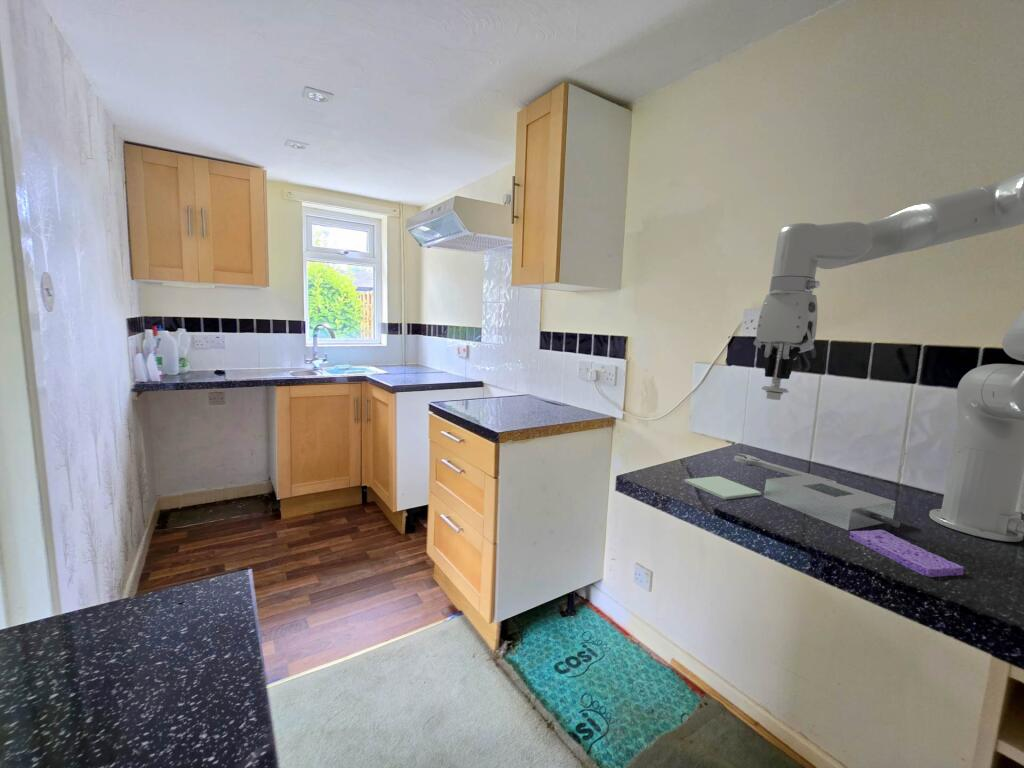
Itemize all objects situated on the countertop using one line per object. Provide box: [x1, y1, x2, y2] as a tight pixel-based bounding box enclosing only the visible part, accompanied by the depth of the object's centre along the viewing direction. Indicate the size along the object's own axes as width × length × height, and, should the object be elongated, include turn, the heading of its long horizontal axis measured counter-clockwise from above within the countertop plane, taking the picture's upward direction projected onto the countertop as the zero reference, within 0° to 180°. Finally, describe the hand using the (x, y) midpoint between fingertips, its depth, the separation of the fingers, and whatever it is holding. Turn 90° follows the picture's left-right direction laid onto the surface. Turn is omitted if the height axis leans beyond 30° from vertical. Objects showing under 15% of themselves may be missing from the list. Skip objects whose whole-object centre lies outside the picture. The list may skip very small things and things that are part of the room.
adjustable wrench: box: [733, 453, 837, 483], centre depth 117 cm, size 25×6×2 cm, turn 28°
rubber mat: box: [683, 475, 762, 500], centre depth 99 cm, size 11×11×1 cm
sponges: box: [849, 529, 964, 578], centre depth 72 cm, size 7×13×2 cm, turn 11°
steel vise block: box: [763, 474, 901, 531], centre depth 89 cm, size 20×14×4 cm
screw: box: [761, 343, 789, 401], centre depth 93 cm, size 13×5×5 cm
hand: (776, 377), depth 93 cm, fingers closed on screw, 2 cm apart
